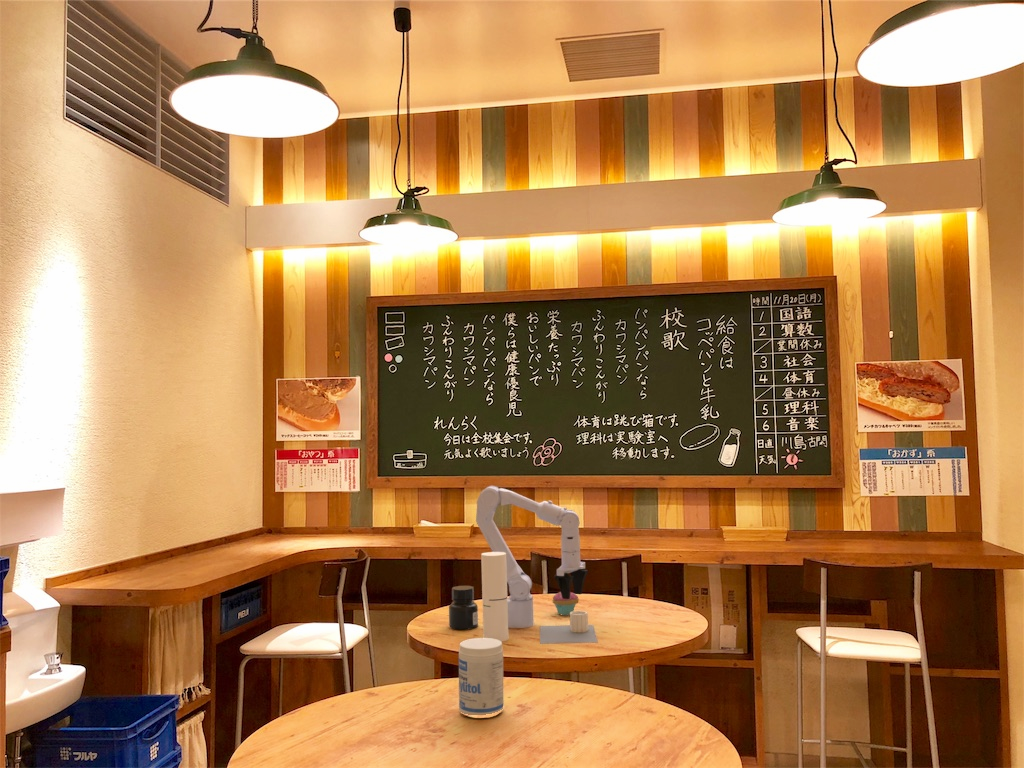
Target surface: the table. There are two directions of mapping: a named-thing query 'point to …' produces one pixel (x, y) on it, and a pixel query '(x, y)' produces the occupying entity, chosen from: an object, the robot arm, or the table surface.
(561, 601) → the cupcake
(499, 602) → the cylindrical container
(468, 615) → the ink bottle
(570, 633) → the duct board
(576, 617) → the sleeve
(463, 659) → the supplement tub
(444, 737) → the table surface
